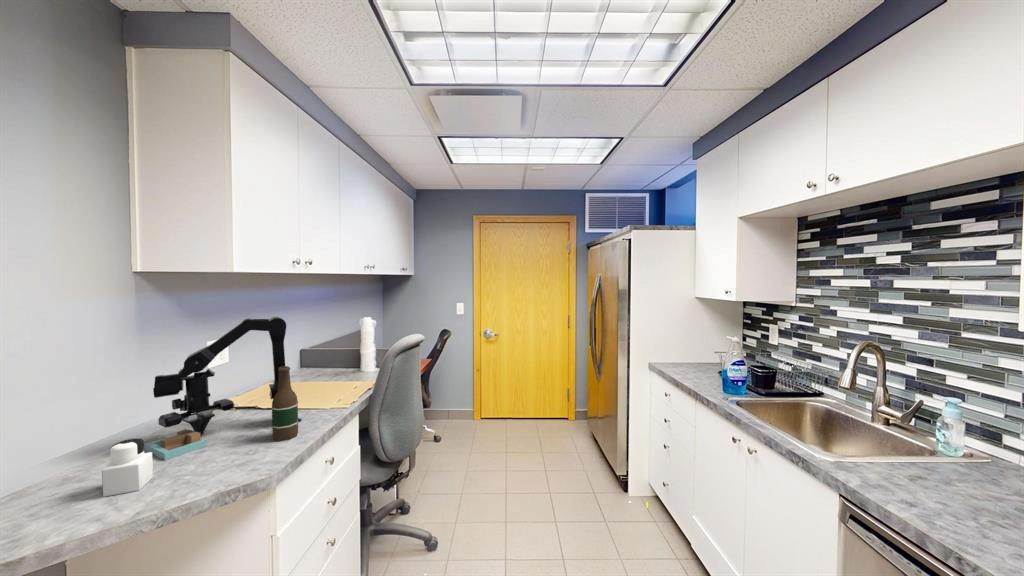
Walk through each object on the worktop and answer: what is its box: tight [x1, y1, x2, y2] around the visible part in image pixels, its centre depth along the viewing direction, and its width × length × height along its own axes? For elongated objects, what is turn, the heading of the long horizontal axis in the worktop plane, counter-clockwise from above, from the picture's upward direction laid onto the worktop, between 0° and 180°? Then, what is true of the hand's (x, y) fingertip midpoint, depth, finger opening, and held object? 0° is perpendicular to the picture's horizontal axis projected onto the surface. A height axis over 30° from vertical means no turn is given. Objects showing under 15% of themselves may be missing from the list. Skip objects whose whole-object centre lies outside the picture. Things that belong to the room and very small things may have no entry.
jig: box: [144, 434, 208, 461], centre depth 119 cm, size 14×10×2 cm
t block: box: [159, 428, 202, 450], centre depth 119 cm, size 8×8×4 cm
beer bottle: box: [271, 365, 299, 442], centre depth 126 cm, size 8×8×24 cm
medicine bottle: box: [101, 438, 154, 498], centre depth 97 cm, size 7×7×12 cm
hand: (199, 437), depth 124 cm, fingers closed
